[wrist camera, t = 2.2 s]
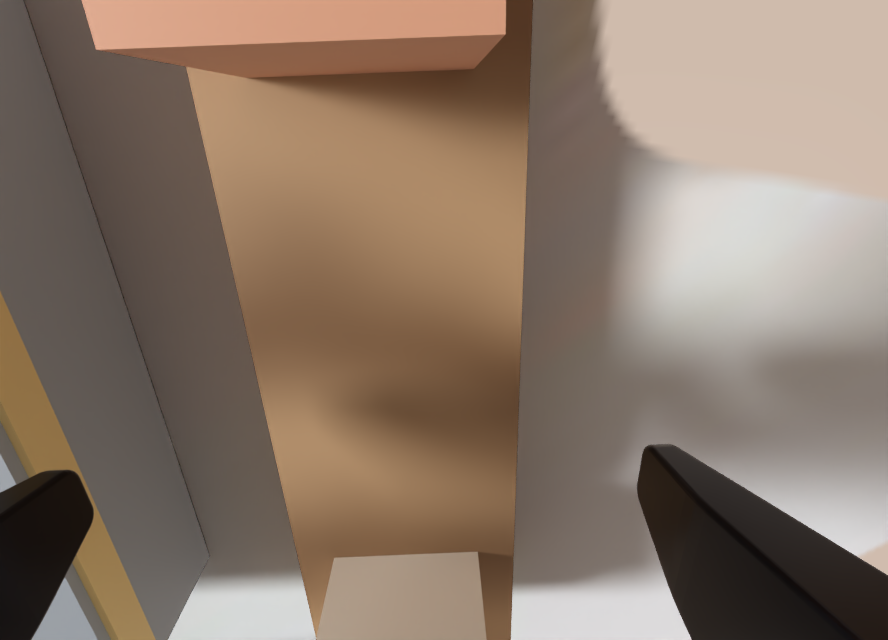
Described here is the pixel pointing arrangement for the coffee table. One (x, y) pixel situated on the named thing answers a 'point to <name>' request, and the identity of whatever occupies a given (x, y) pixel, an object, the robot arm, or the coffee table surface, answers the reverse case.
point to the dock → (81, 375)
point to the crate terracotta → (300, 34)
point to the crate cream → (404, 598)
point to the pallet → (384, 299)
